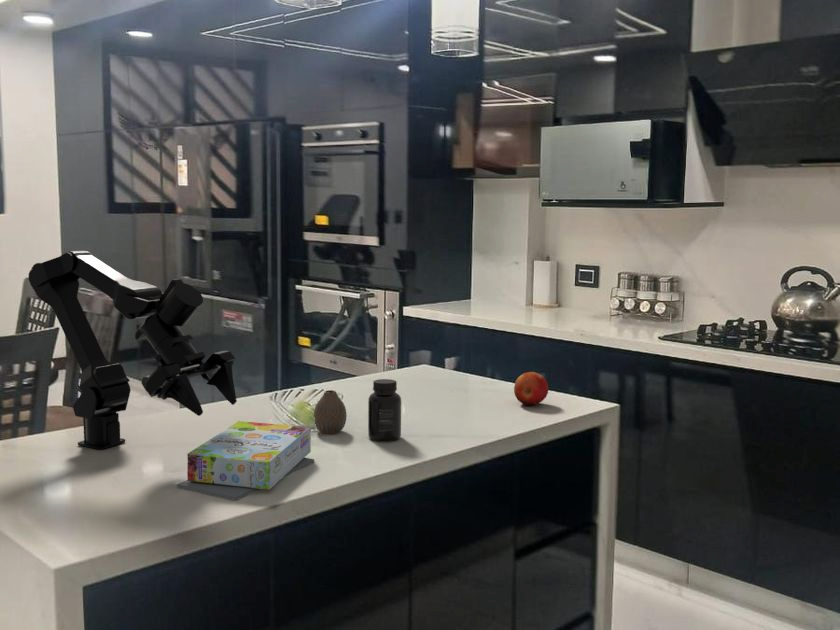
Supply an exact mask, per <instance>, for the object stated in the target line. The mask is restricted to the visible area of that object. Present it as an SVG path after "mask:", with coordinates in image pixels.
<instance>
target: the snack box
mask: <svg viewBox="0 0 840 630" xmlns="http://www.w3.org/2000/svg"><path fill="white" fill-rule="evenodd" d="M311 436H312V435H311V426H302V425H290V424H289V425H288V424H280V423H279V424H276V423H264V422H255V421H243V420H237V421H236V422H234V423H233V424H231V425H230V426H228V427H227V428H226V429H224V430H223V431H221V432H220V433H218V434H216V435H215V436H213V437H212V438H210V439H209V440H207V441H205V442H203V443H202V444H200V445H199V446H198V447H196V448H194V449H192V450H191V451H189V452H188V453H186V455H187V477H186V478H187V480H188V481H193V482H203V483H212V484H220V485H229V486H239V487H247V488H256V489H259V490H268V491H269V490H271V489H272V488H273V487H274V486H275V485H276V484H277V483H278V482H280V480H281V479H283V478H285V477H286V476H285V475H286V474H287V473H288V472H289V471H290V470H291V469H292V468H293V467H295V466H296V465H297V464H298V463H299V462H300V461H301V460H302V459H303V458H306V457H307V456H308V455H309V454H310V453H311V452H312V449H311V447H312V446H311V444H312V443H311V441H312V440H311ZM284 476H285V477H284ZM282 477H283V478H282Z"/></svg>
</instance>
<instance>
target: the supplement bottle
mask: <svg viewBox="0 0 840 630" xmlns="http://www.w3.org/2000/svg"><path fill="white" fill-rule="evenodd" d="M372 383H373V387H372V391H374V392H372V393H371V394H370V395H369V396H368V401H367V403H368V404H367V405H368V407H367V408H368V411H367V412H368V415H367V417H368V418H367V419H368V420H367V423H368V426H367V427H368V429H367V432H368V438H369V439H370V440H371V441H375V442H383V443H384V442H385V443H386V442H395V441H397V440H399V439H401V436H402V397H401V395H400V394H399V393H397V392H396V391H397V390H398V388H397V385H398V382H397V380H394V379H389V378H387V379H386V378H380V379H375V380H373V382H372Z"/></svg>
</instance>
